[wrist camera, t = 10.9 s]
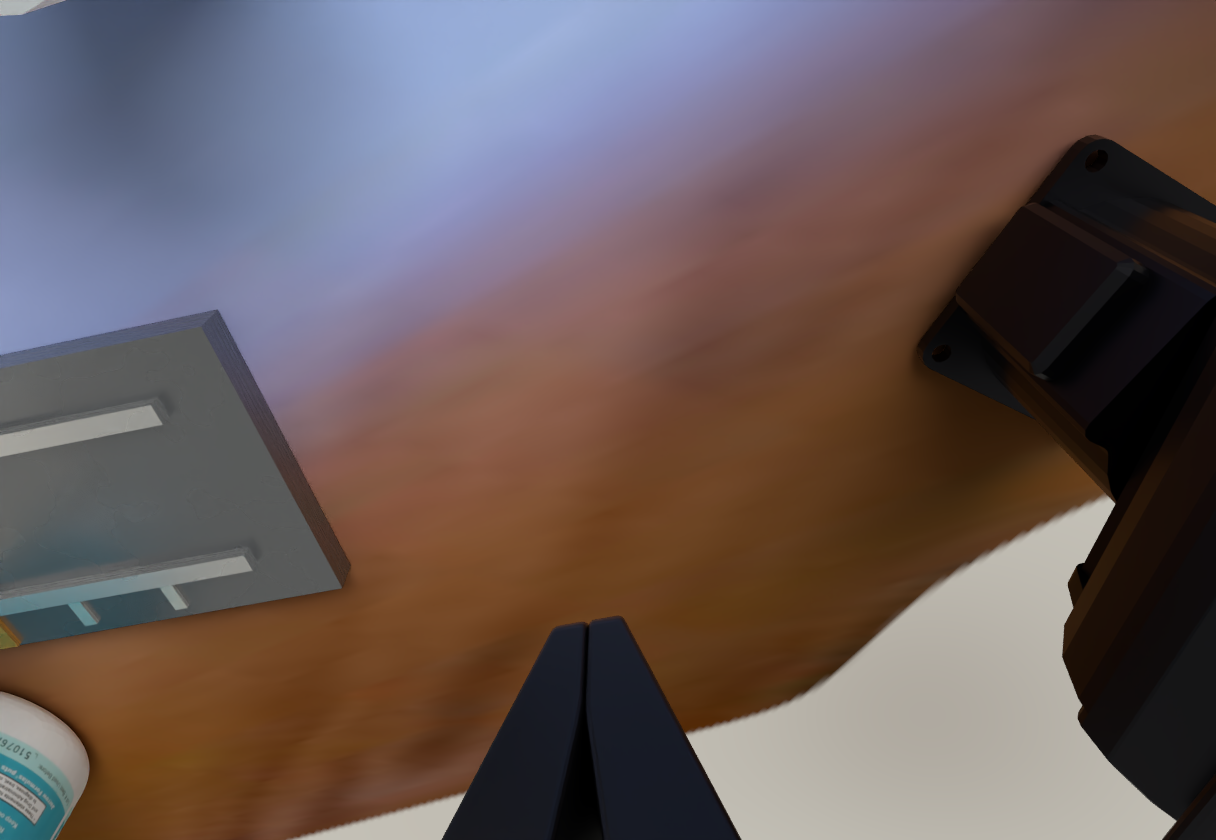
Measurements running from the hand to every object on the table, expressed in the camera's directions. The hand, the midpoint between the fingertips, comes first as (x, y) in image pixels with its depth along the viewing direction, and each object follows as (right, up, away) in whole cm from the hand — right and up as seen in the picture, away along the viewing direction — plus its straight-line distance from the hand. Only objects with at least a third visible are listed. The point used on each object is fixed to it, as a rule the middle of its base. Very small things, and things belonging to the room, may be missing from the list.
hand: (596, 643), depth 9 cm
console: (-16, 0, +13) cm, 21 cm away
